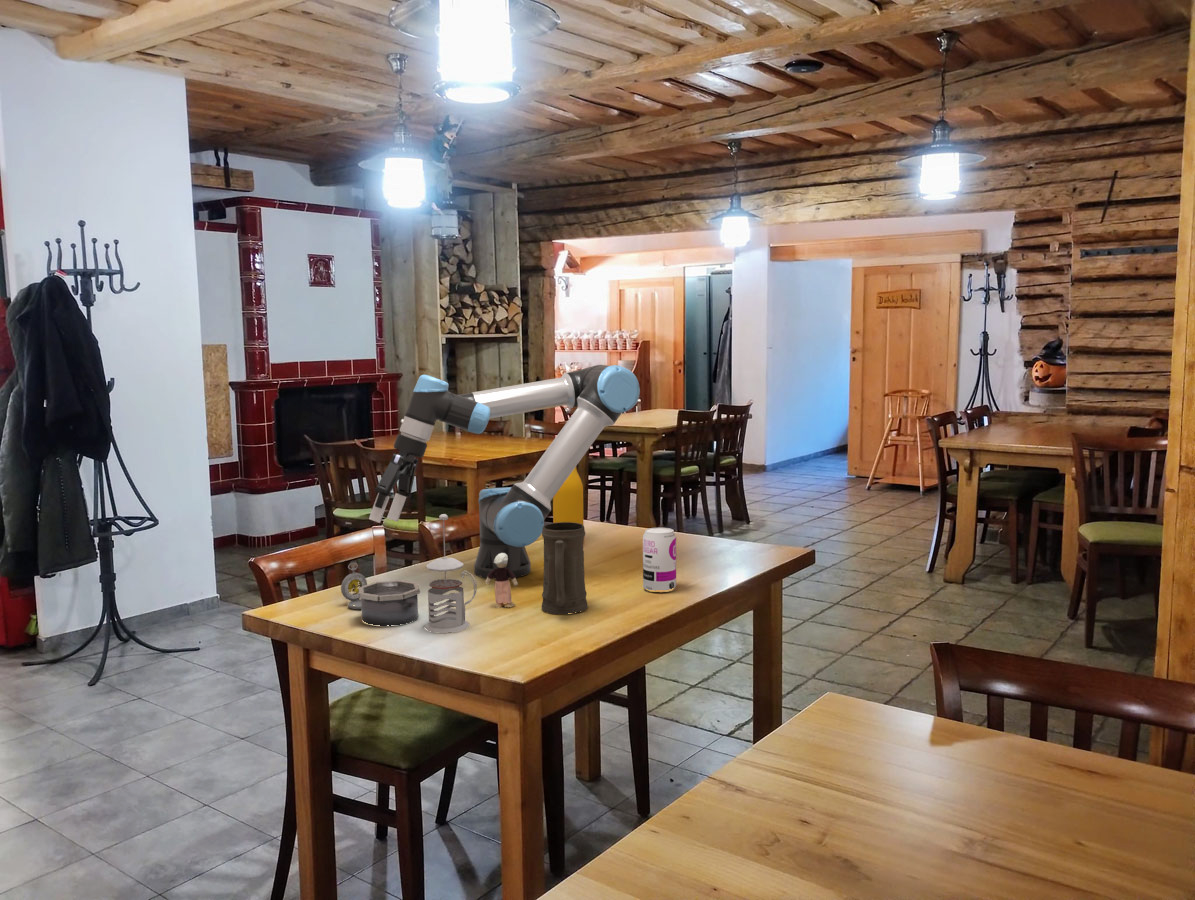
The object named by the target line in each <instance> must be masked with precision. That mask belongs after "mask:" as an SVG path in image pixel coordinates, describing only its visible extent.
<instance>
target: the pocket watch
mask: <svg viewBox="0 0 1195 900" xmlns="http://www.w3.org/2000/svg"><path fill="white" fill-rule="evenodd" d="M353 564H355V565H356V567H355V566H352V567H351V568H350V566H351V565H353ZM347 568H348V570H350V571H351V572H352V573H349V574H348V575H346V576H345V577H344V579H343V580H342V582H341V585H340V592H341V595H342V596H343V597H344V598H345V599H346V600H348V601H349V602H348V603H347V605H348V608H349V609H353V610H362V608H361V598H359V587H362V586H365V585H368V582H367V578H366V577H365V576H364V575H363V574H362V573H360V572H356V570H357V568H359V564H358V563H356V562H351V563H349V564H348V566H347ZM352 592H353V593H352ZM353 605H355V606H353Z"/></svg>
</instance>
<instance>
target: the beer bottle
mask: <svg viewBox="0 0 1195 900" xmlns="http://www.w3.org/2000/svg"><path fill="white" fill-rule="evenodd" d="M578 472H579V471H578V470H577V466H576V467H575V468H574V470H573V471H572V472H571V474H570V475H569V476H568V478H567V479H566V481H565V482H564V483H563V485H562V486H561V487H560V489H559V490H558V492H557V493H556V494H555V496H554V497H553V498H552V516H553V517H552V518H553V519H552V520H553V522H552V523H558V522H574V523H579V524H582V525H583V526H584V484H583V482H582V478H581V476H580V475H579V473H578ZM584 527H585V526H584ZM584 544H585V539H584V540H583V545H584Z"/></svg>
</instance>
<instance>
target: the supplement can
mask: <svg viewBox="0 0 1195 900" xmlns="http://www.w3.org/2000/svg"><path fill="white" fill-rule="evenodd" d="M642 587H643V589H644V590H646V589H648V590H655V591H656V590H669V589H672V588H675V587H676V588H677V535H676V534H675V532H674V529H672V528H669V527H651V528H646V529H645V530H644V533H643V535H642ZM676 588H675V589H676Z"/></svg>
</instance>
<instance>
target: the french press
mask: <svg viewBox="0 0 1195 900" xmlns="http://www.w3.org/2000/svg"><path fill="white" fill-rule="evenodd" d="M438 518H439V519H438V520H439V521H442V525H443V528H442V529H443V557H438V558H435V559H434V560H432V561H430V562H429V563H427V564H426V566H425V568H426V569H428V571H433V572H444V578H441V579H439V578H438V579H435V580H432V581H431V582H429V584H428V585H429V587H430V588H428V590H427V599H428V600H427V602H428V605H427V607H428V609H427V610H428V621H427V623H426V624H425V625H424V628H426V629H427V630H428V631H427V630H426V629H425V630H426V631H427V632H430V631H431V632H430V633H434V632H440V633H439V634H448V632H452V633H457V632H456V631H458V632H461V631H464V630H466V629H468V628H469V627H470V623H469V622H468V621H467V620H466V605H468V604H470V603H471V602H472V601H473V599H475V597H476V594H477V585H478V584H477V580H476V578H475V577H474V575H473V574H472V573H470V572H469V571H467V570H463V571H462V572H461V574H460V578H461V579H464V576H465V575H466V576H467V577H468V578H469V579H470V581H471V583H472V585H473V595H472V597H471V599H469V600H467V601H465V599H464V598H465V597H464V588H463V587H462V585H463V581H461V580H460V579H455V578H454V579H453V578H447V576H446V573H447V572H453V571H457V570H460V569H462V568H463V566H464V563H463V562H462V561H460V560H458V559H456V558H454V557H447V556H446V543H445V541H446V540H445V539H446V538H445V535H446V534H445V521H446V520H448V519H449V516H448V515H447V514H446V513H443V514H440V515H439V517H438ZM451 591H456V592H452V593H451ZM448 592H450V593H449V594H448ZM446 593H447V594H446ZM444 600H446V601H444ZM442 601H444V602H442ZM439 602H441V603H439ZM435 603H439V604H435ZM444 606H445V607H444ZM442 607H443V608H442ZM440 608H441V609H440ZM435 609H439V610H435ZM444 612H445V613H444ZM441 613H442V614H441ZM438 614H440V615H438ZM463 629H464V630H463Z"/></svg>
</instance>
